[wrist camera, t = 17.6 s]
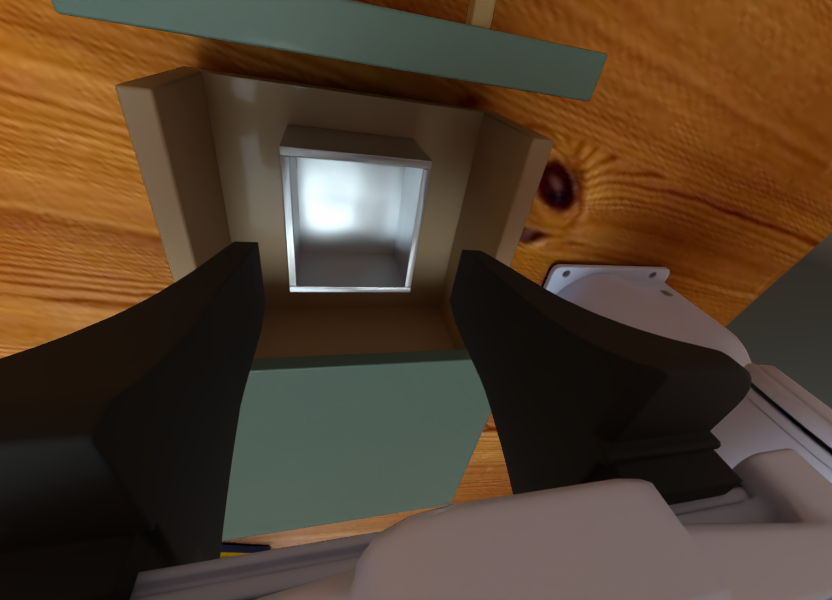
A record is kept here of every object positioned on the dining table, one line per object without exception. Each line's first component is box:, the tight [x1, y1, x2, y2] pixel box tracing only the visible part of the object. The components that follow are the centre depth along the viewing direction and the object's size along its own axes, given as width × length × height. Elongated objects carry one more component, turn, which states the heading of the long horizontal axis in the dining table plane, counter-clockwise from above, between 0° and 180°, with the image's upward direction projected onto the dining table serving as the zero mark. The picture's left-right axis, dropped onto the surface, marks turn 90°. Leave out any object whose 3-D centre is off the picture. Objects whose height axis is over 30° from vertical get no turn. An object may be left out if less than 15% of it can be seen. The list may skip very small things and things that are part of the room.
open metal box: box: [279, 124, 432, 292], centre depth 14 cm, size 5×6×3 cm
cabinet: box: [222, 349, 491, 541], centre depth 21 cm, size 14×14×7 cm
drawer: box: [52, 0, 607, 358], centre depth 13 cm, size 19×13×6 cm
